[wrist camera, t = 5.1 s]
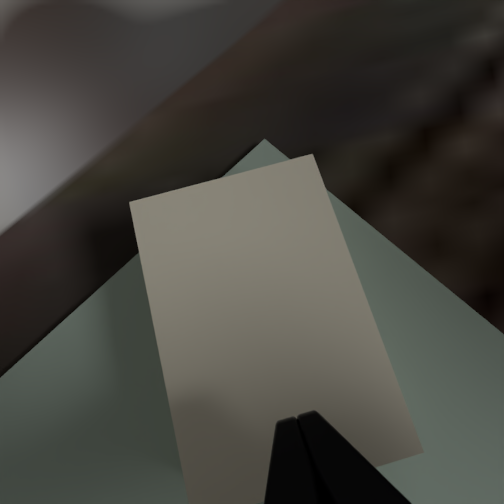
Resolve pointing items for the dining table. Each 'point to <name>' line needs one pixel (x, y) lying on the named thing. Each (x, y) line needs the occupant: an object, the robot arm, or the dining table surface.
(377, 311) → the rubber mat
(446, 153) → the dining table surface
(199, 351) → the card box
